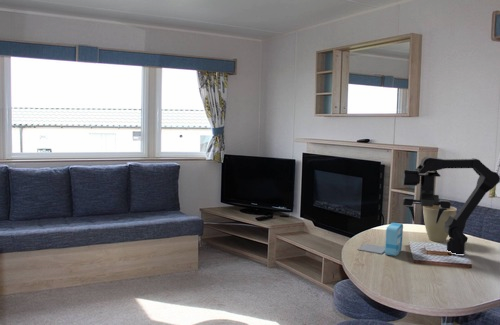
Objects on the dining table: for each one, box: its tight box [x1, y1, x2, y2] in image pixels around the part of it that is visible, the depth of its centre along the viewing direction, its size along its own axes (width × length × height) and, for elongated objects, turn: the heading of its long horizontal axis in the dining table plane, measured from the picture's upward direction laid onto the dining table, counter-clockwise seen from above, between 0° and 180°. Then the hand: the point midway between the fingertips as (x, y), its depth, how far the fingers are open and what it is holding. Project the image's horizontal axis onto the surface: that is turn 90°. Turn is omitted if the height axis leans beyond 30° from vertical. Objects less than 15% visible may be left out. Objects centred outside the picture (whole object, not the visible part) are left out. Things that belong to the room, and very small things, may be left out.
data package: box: [384, 222, 404, 257], centre depth 201 cm, size 12×4×12 cm, turn 151°
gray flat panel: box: [357, 242, 385, 255], centre depth 206 cm, size 10×11×1 cm
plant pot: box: [422, 205, 458, 243], centre depth 223 cm, size 15×15×16 cm
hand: (425, 222), depth 203 cm, fingers open, 9 cm apart
